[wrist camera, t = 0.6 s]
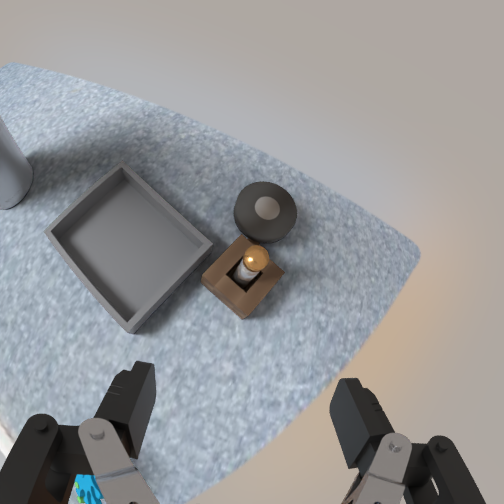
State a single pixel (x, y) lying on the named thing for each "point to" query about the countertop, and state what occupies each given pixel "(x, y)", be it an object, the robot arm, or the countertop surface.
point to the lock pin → (250, 265)
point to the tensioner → (258, 231)
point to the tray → (127, 245)
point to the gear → (88, 489)
